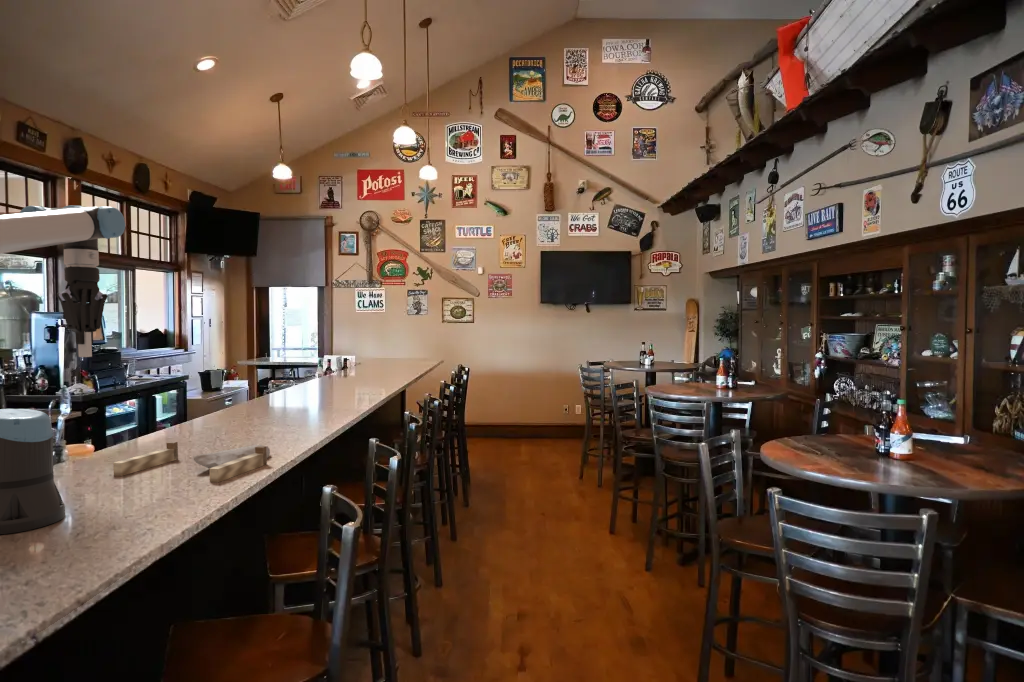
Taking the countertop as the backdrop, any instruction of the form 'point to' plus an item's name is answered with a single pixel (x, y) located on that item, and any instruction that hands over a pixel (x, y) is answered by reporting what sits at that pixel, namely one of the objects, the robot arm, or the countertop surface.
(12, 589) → the countertop surface
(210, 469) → the rails
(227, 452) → the stone
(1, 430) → the robot arm
